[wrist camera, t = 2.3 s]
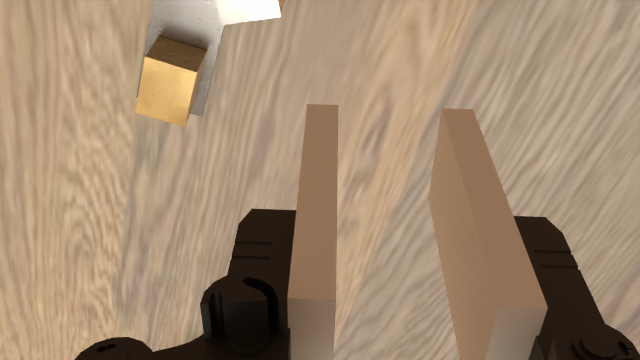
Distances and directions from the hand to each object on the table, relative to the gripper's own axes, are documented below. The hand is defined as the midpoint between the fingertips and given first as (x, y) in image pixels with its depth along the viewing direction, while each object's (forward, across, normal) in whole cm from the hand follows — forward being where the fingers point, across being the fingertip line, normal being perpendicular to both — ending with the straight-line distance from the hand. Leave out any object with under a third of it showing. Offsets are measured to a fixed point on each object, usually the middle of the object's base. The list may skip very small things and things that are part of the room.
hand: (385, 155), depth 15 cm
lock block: (+25, -12, -9) cm, 29 cm away
